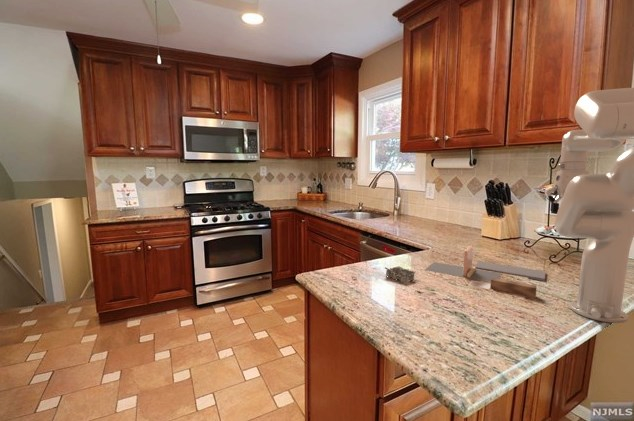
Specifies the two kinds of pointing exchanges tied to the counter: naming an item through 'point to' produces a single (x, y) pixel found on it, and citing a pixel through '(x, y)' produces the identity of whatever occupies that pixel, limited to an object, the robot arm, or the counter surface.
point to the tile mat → (458, 271)
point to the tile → (467, 260)
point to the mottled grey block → (400, 274)
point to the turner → (507, 286)
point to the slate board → (512, 270)
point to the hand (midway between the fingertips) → (568, 213)
